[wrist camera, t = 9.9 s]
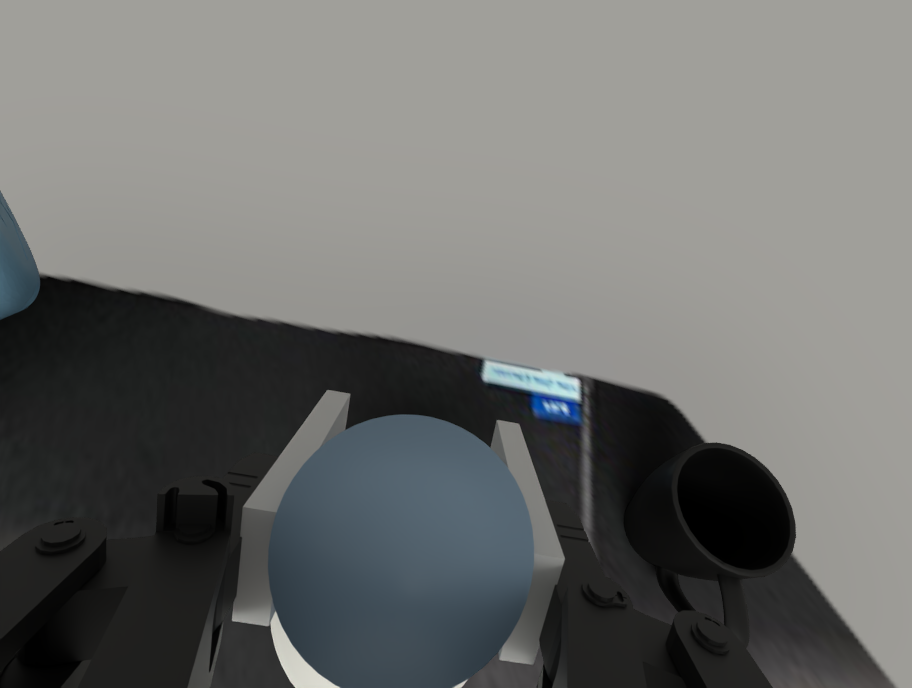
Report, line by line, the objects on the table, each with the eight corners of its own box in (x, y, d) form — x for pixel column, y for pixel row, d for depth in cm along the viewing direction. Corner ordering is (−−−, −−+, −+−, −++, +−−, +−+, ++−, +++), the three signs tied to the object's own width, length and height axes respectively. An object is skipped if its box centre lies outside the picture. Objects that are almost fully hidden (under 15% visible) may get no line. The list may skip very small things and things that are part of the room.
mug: (599, 626, 34) (671, 629, 26) (611, 465, 40) (671, 427, 32) (710, 658, 34) (816, 671, 26) (704, 492, 40) (788, 460, 32)
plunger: (307, 626, 19) (210, 640, 8) (358, 504, 22) (338, 383, 10) (425, 670, 19) (498, 747, 8) (461, 541, 21) (555, 459, 10)
